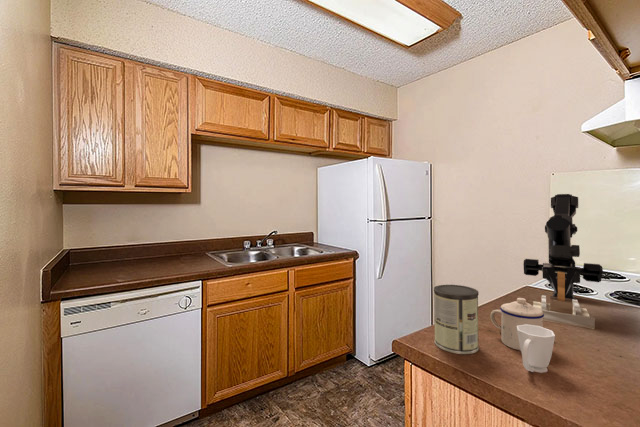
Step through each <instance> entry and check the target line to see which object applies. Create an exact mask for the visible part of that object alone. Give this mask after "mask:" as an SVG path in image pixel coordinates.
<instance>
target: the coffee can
mask: <svg viewBox="0 0 640 427" xmlns="http://www.w3.org/2000/svg"><path fill="white" fill-rule="evenodd" d="M433 292H434V293H433V295H434V296H433V298H434V299H433V301H434V305H433V306H434V308H433V309H434V310H433V311H434V345H436V347H438V348H439V349H440V350H443V351H445V352H448V353H451V354H452V353H453V354H458V355H471V354H475V353H477V352H478V351H479V350H480V349H479V292H480V291H479V290H478V289H476V288H473V287H470V286H465V285H461V284H459V285H458V284H440V285H436V286H434V287H433Z"/></svg>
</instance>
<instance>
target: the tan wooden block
mask: <svg viewBox="0 0 640 427" xmlns="http://www.w3.org/2000/svg"><path fill="white" fill-rule="evenodd" d="M557 286H558V294H557V297H553V295H552V296H551V295H550V297H549V298H550V299H549V301H550V302H549V304H550V311H554V312H560V313H567V314H573V303H572V299H568V298H565V273H564V272H557Z"/></svg>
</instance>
